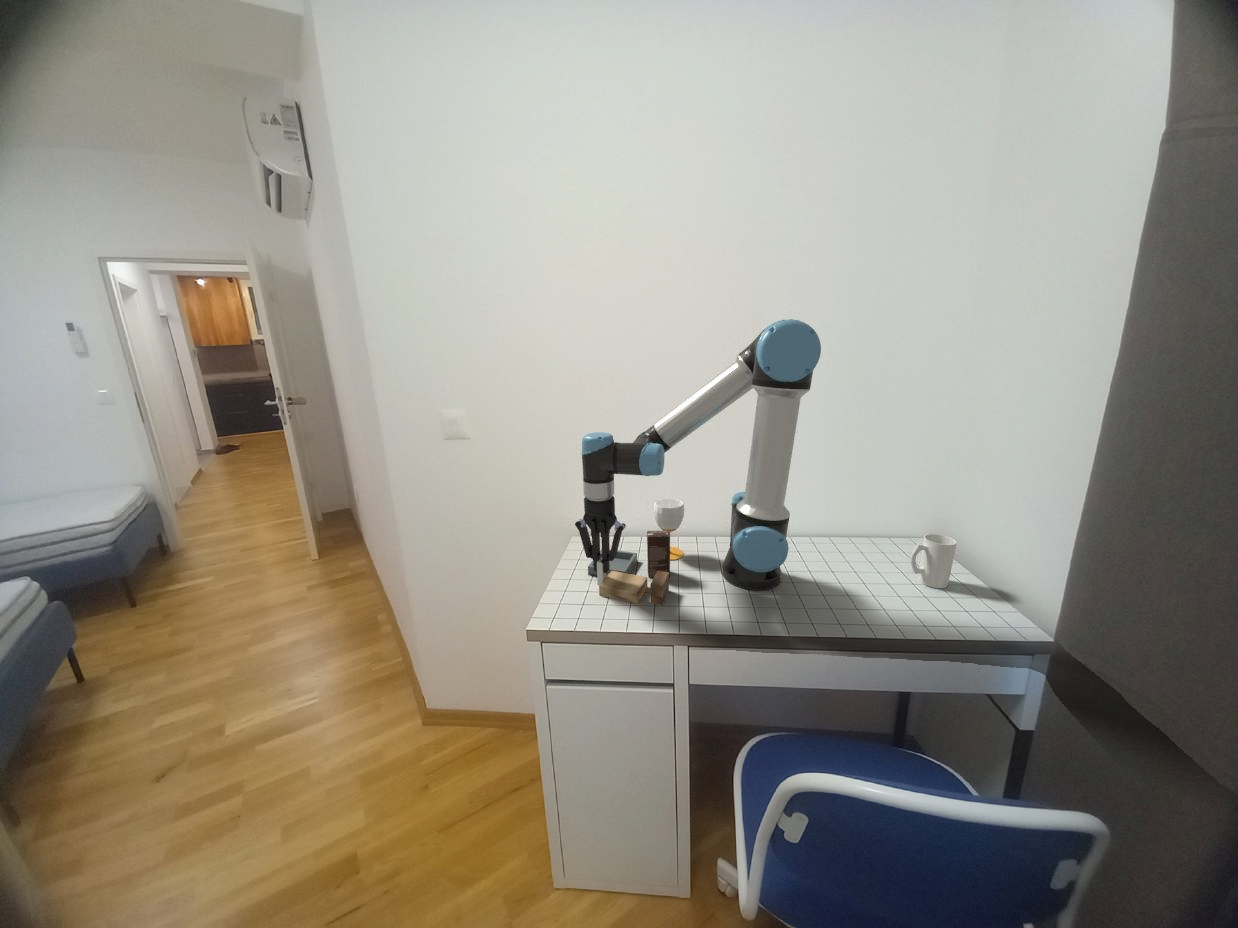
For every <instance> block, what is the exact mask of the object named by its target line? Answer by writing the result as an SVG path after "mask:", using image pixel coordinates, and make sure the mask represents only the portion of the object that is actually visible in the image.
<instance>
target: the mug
mask: <svg viewBox="0 0 1238 928" xmlns="http://www.w3.org/2000/svg"><path fill="white" fill-rule="evenodd" d="M957 543H958V541H957V539H956V540H955V539H954V538H953V537H950V536H947V535H943V534H937V533H929V534H928V533H927V534H924V535H923V541H922V543H916V546H915V547H914V549H913V550H912V552H911V555H910V565H911V571H912V572H913V573H914V574H916V575H918V577H917V579H918V581H919V582H920V584H923V585H924V586H926V587H929V588H934V589H946V588H947V587H948V586H949V581H950V577H951V574H952V573H951V572H952V569H953V568H952V567H953V563H954V558H955V554H956V548H957ZM920 552H921V555H920V556H921V557H920V563H919V567H918V566H917V560H916V558H917V556H918V554H919V553H920Z"/></svg>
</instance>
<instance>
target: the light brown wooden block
mask: <svg viewBox="0 0 1238 928" xmlns="http://www.w3.org/2000/svg"><path fill="white" fill-rule="evenodd" d="M647 589H648V576H643V575H637V574H632V573H629V574H627V573H622V572H616V571H611V572H610V573H609V574H608V575H607V577H606V578H605V579H604V580H603V581H602V582H601V583H600V585H598V592H599V593H598V595H599V596H601V597H606V598H611V599H616V600H620V601H625V602H631V603H636V604H637V603H638V602H639V601H640V599H641V598H642V596H643V595H644V593H645V592H646V590H647Z"/></svg>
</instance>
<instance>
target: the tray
mask: <svg viewBox="0 0 1238 928" xmlns="http://www.w3.org/2000/svg"><path fill="white" fill-rule="evenodd" d="M610 551H611V549H610ZM600 555H601V556H600V557H601V558H602V549H600ZM637 562H638V552H632V551H626V550H625V551H623V550H618V551H617V555H616V557H615V558H614V560H613V561H609V566H610V569H609V571H608V573H606V577H607V575H608V574H609V573H610V572H611V571H616V572H622V573H627V574H631V572H632V569H634V567H635V566H636V563H637ZM587 575H588V576H593V577H594V576H595V577H597V572H595V571H594V563H593V560H592V561H590V563H589V564H588V565H587Z"/></svg>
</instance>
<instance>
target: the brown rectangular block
mask: <svg viewBox="0 0 1238 928" xmlns="http://www.w3.org/2000/svg"><path fill="white" fill-rule="evenodd" d="M649 586H650V589H649V590H650V592H649V594H650V596H649V597H650V598H649V599H650V604H655V605H659V606H660V605H661V606H663V605H664V603H665V600H666V598H667V595H668V593H669V590H670V577H669V572H662V571H657V573H656V574H655V576H654V577H653V578H652V581H651V583H650V585H649Z"/></svg>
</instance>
